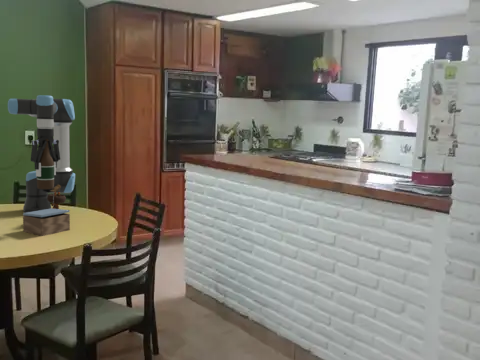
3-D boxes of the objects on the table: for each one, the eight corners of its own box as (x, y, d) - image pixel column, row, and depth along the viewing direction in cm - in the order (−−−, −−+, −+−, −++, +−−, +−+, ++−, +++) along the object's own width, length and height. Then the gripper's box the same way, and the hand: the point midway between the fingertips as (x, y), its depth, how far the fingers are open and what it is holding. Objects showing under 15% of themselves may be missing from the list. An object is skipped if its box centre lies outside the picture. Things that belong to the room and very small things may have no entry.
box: (51, 225, 255) (51, 210, 254) (69, 230, 248) (69, 214, 247) (23, 231, 242) (23, 215, 241) (42, 236, 235) (41, 219, 234)
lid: (51, 210, 254) (51, 208, 254) (69, 212, 247) (69, 210, 247) (23, 215, 241) (22, 213, 241) (41, 217, 233) (41, 215, 233)
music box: (65, 224, 259) (64, 186, 256) (42, 225, 256) (41, 186, 253) (67, 218, 273) (66, 182, 270) (45, 218, 270) (45, 182, 268)
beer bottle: (46, 189, 237) (45, 139, 234) (33, 188, 240) (32, 138, 237) (57, 187, 245) (57, 138, 241) (44, 186, 247) (44, 137, 244)
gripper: (58, 127, 249) (58, 173, 252) (21, 127, 232) (22, 176, 235) (68, 128, 245) (68, 174, 248) (31, 128, 228) (32, 178, 231)
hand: (46, 175), depth 241 cm, fingers closed on beer bottle, 8 cm apart
